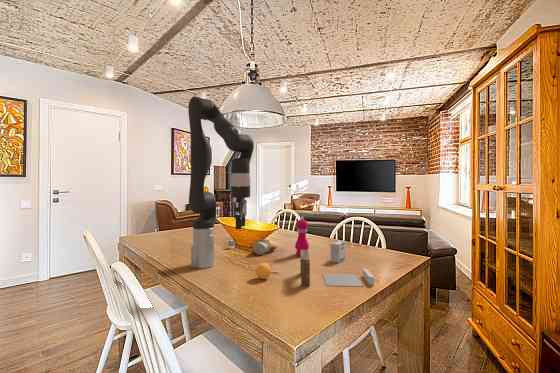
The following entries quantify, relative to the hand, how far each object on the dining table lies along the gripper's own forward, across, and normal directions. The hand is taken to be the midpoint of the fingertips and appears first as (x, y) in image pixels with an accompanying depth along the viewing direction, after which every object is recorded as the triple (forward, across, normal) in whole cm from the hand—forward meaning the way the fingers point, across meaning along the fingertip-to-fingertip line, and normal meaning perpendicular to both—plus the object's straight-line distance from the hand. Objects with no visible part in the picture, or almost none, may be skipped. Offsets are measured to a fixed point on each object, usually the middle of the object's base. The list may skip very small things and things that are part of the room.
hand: (240, 227), depth 107 cm
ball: (+17, 0, +9) cm, 19 cm away
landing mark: (+20, 0, +39) cm, 44 cm away
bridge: (+20, 0, +25) cm, 32 cm away
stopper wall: (+20, 0, +49) cm, 53 cm away
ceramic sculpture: (+20, -42, +4) cm, 47 cm away
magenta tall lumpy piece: (+20, -38, +25) cm, 50 cm away
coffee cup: (+21, -51, -15) cm, 57 cm away
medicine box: (+20, -28, +42) cm, 54 cm away
